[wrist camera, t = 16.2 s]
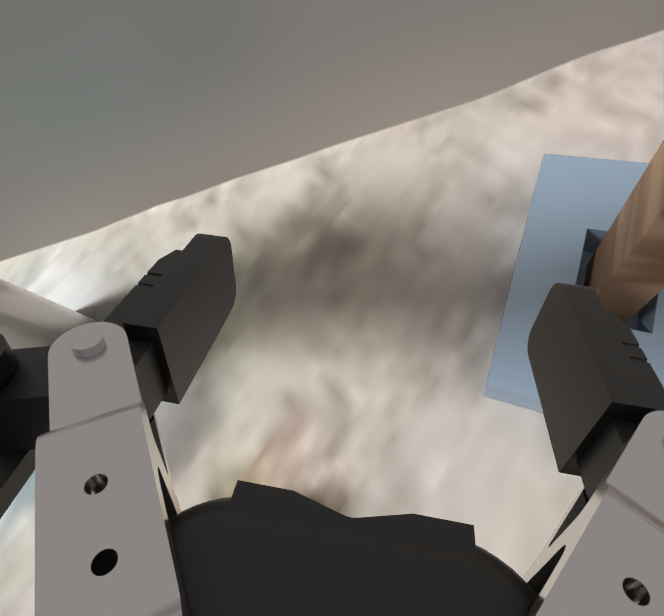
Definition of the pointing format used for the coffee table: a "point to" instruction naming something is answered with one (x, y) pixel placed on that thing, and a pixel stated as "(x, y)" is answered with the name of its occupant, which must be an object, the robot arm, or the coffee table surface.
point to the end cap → (565, 264)
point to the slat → (633, 248)
